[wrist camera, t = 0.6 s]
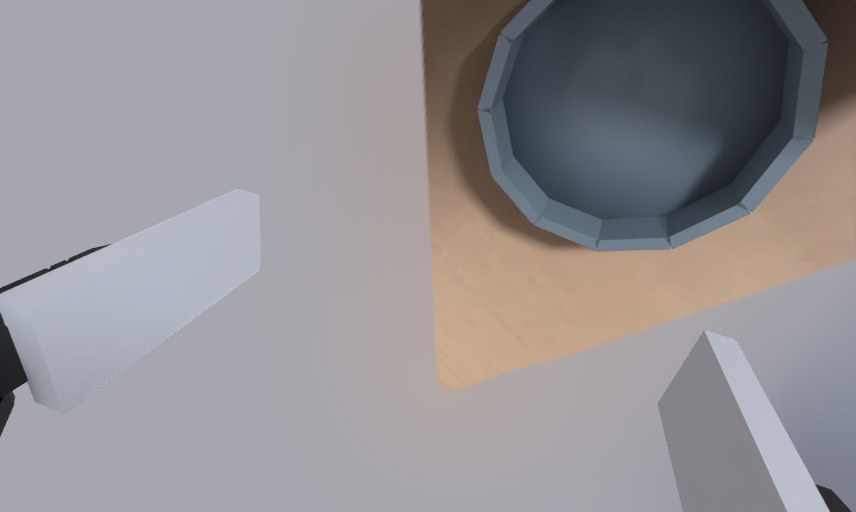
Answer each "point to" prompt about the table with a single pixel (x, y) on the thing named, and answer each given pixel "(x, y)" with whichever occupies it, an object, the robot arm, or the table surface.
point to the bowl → (649, 114)
